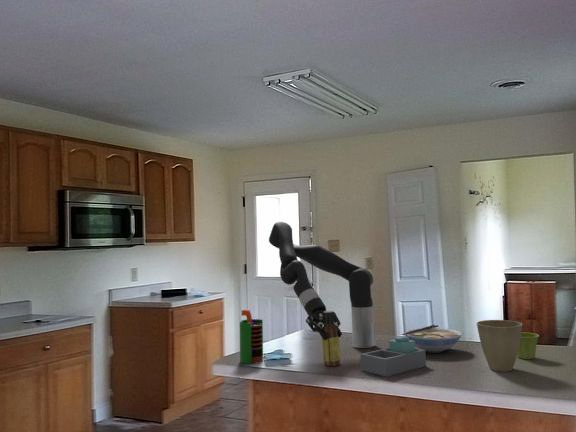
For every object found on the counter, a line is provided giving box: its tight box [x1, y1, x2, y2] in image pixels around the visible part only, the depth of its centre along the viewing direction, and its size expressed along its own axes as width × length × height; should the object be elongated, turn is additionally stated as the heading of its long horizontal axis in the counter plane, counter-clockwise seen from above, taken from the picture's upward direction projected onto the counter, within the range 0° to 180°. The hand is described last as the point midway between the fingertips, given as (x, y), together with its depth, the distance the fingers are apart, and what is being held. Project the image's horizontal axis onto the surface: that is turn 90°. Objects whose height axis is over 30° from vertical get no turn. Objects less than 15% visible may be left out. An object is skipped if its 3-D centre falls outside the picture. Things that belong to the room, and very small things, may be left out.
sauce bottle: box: [321, 310, 341, 367], centre depth 207 cm, size 7×6×20 cm
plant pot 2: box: [516, 331, 540, 360], centre depth 207 cm, size 9×9×9 cm
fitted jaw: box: [388, 335, 416, 354], centre depth 201 cm, size 6×7×9 cm
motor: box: [239, 309, 264, 365], centre depth 217 cm, size 10×9×20 cm
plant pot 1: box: [476, 319, 523, 373], centre depth 192 cm, size 15×15×16 cm
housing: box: [359, 347, 427, 377], centre depth 198 cm, size 21×12×6 cm, turn 127°
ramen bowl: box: [400, 324, 463, 354], centre depth 224 cm, size 25×23×8 cm
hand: (333, 337), depth 205 cm, fingers closed on sauce bottle, 6 cm apart
